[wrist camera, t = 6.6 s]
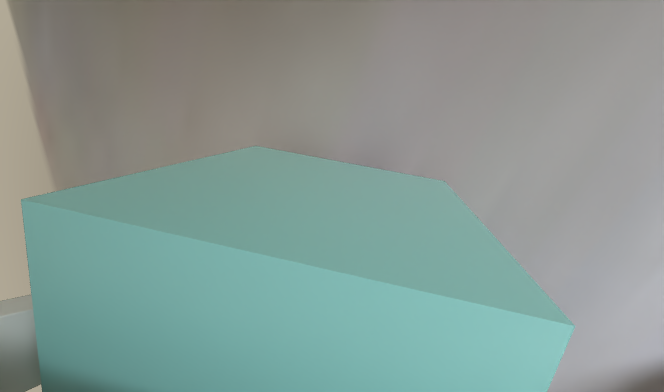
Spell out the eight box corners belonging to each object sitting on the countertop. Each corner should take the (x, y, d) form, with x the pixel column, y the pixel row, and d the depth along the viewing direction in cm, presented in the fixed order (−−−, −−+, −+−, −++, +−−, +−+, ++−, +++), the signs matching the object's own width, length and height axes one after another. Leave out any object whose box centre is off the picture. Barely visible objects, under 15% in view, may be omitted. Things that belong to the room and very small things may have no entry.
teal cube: (255, 146, 13) (21, 199, 5) (444, 181, 12) (575, 326, 4) (240, 305, 15) (58, 542, 7) (401, 345, 14) (422, 676, 6)
